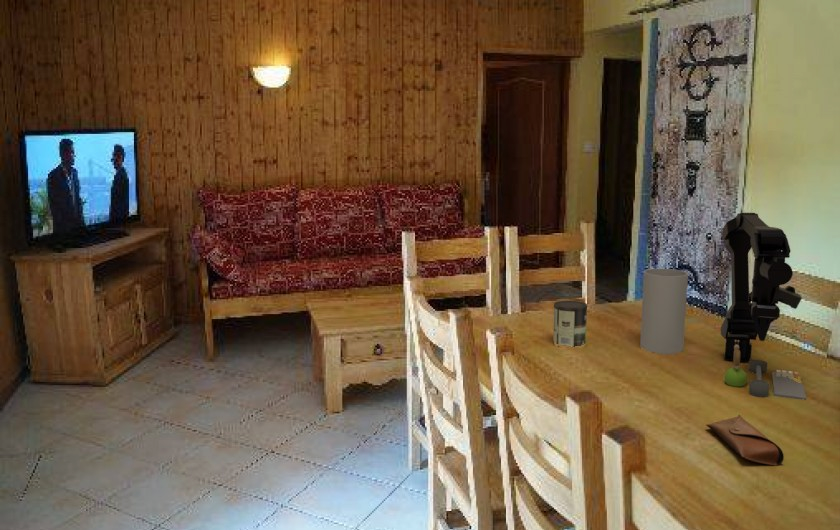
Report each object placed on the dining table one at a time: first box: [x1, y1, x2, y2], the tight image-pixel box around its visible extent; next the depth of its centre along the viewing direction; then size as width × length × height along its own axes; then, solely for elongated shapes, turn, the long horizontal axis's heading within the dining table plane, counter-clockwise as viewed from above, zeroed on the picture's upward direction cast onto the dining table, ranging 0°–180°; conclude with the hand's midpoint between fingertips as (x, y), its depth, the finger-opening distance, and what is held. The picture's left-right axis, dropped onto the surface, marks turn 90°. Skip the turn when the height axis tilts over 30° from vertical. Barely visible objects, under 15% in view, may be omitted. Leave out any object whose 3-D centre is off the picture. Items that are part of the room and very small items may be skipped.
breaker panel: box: [771, 369, 807, 401], centre depth 181 cm, size 7×18×3 cm, turn 155°
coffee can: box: [552, 300, 588, 347], centre depth 219 cm, size 10×10×14 cm
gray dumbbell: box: [748, 359, 770, 398], centre depth 184 cm, size 4×22×4 cm, turn 155°
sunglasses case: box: [705, 414, 785, 467], centre depth 148 cm, size 18×7×7 cm
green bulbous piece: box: [723, 340, 748, 388], centre depth 183 cm, size 5×6×12 cm
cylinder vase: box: [639, 268, 689, 355], centre depth 212 cm, size 12×12×25 cm
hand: (760, 336), depth 182 cm, fingers open, 9 cm apart
